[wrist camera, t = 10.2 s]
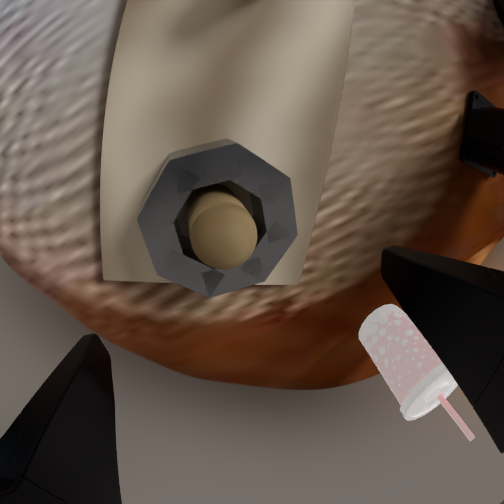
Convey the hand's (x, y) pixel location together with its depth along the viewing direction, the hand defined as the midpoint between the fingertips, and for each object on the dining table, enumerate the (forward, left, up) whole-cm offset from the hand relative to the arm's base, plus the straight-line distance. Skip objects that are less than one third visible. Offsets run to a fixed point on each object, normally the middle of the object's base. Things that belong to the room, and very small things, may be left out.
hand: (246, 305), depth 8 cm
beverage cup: (-16, +9, -10) cm, 21 cm away
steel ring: (0, 0, -8) cm, 8 cm away
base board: (0, -7, -9) cm, 11 cm away
